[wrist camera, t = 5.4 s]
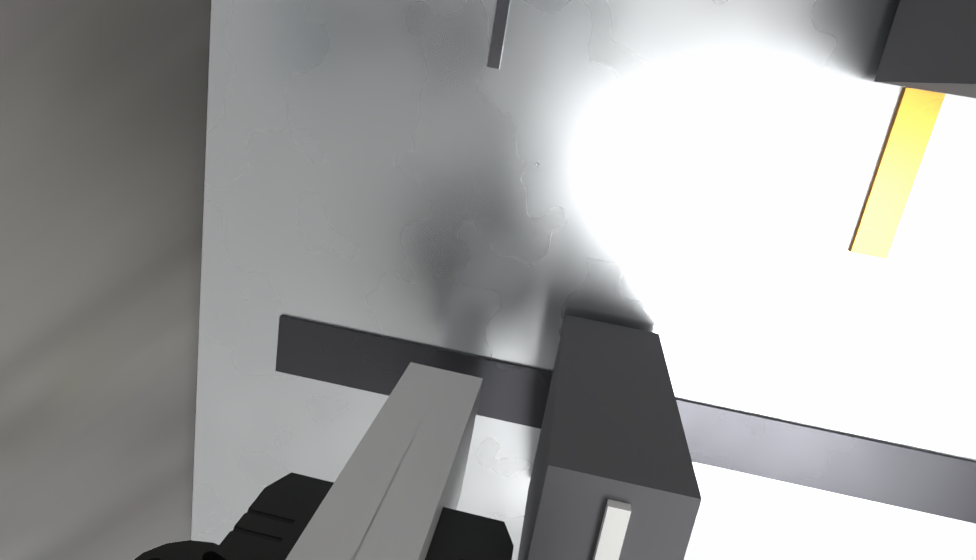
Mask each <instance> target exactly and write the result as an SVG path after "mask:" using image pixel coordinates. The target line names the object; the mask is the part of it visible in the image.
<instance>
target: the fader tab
mask: <svg viewBox="0 0 976 560" xmlns="http://www.w3.org/2000/svg"><path fill="white" fill-rule="evenodd" d="M701 500H702V498H701V494H700V490H699V487H698V483H697V479H696V475H695V471H694V467H693V463H692V460H691V456H690V452H689V448H688V444H687V440H686V436H685V433H684V429H683V425H682V421H681V417H680V413H679V409H678V406H677V402H676V398H675V394H674V390H673V386H672V382H671V379H670V375H669V371H668V367H667V363H666V359H665V355H664V351H663V348H662V344H661V340H660V336H659V333H654V332H649V331H644V330H639V329H634V328H630V327H625V326H620V325H615V324H610V323H605V322H600V321H595V320H590V319H585V318H580V317H575V316H570V315H565V317H564V322H563V327H562V331H561V336H560V341H559V346H558V351H557V355H556V360H555V365H554V370H553V374H552V379H551V384H550V389H549V393H548V398H547V403H546V408H545V412H544V417H543V422H542V427H541V431H540V436H539V441H538V446H537V450H536V455H535V460H534V465H533V469H532V474H531V479H530V484H529V488H528V495H527V501H526V508H525V514H524V521H523V527H522V534H521V540H520V547H519V553H518V560H684V557H685V554H686V550H687V547H688V544H689V540H690V537H691V534H692V530H693V527H694V524H695V520H696V517H697V514H698V510H699V507H700V504H701Z"/></svg>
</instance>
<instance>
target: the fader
mask: <svg viewBox="0 0 976 560" xmlns="http://www.w3.org/2000/svg"><path fill="white" fill-rule="evenodd" d="M874 82H880V83H886V84H892V85H898V86H904V87H910V88H916V89H922V90H928V91H934V92H940V93H946V94H952V95H958V96H964V97H970V98H976V0H900V2H899V5H898V8H897V11H896V14H895V18H894V21H893V24H892V27H891V30H890V33H889V36H888V39H887V43H886V46H885V49H884V52H883V55H882V58H881V61H880V64H879V67H878V71H877V74H876V77H875V80H874Z"/></svg>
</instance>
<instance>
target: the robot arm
mask: <svg viewBox="0 0 976 560" xmlns="http://www.w3.org/2000/svg"><path fill="white" fill-rule="evenodd" d="M482 381H483V378H479V377H474V376H470V375H465V374H461V373H457V372H452V371H448V370H443V369H439V368H434V367H430V366H425V365H421V364H417V363H412V362H410V364H409V366H408V367H407V369H406V370H405V372H404V374H403V375H402V377H401V378H400V380H399V381H398V383H397V385H396V386H395V388H394V389H393V391H392V392H391V394H390V396H389V397H388V399H387V400H386V402H385V403H384V405H383V407H382V408H381V410H380V411H379V413H378V414H377V416H376V418H375V419H374V421H373V422H372V424H371V426H370V427H369V429H368V430H367V432H366V433H365V435H364V437H363V438H362V440H361V441H360V443H359V444H358V446H357V448H356V449H355V451H354V452H353V454H352V455H351V457H350V459H349V460H348V462H347V463H346V465H345V466H344V468H343V470H342V471H341V473H340V474H339V476H338V477H337V479H336V481H335V482H329V481H325V480H321V479H317V478H313V477H309V476H305V475H301V474H297V473H292V472H291V473H290V474H288V475H286V476H284V477H282V478H281V479H279V480H277V481H275V482H274V483H272V484H270V485H268V486H267V487H265V488H264V489H263V491H262V492H261V493H260V494H259V496H258V497H257V498H256V499H255V501H254V502H253V503H252V504H251V506H250V507H249V508H248V511H247V513H244V514H243V516H242V517H241V518H240V519H239V521H238V522H237V523H236V525H235V526H234V529H233V531H230V532H229V533H228V535H227V536H226V537H225V538H224V540H223V541H222V542H221V543H220V545H218V544H215V543H212V542H202V541H193V540H189V541H182V542H175V543H168V544H164V545H162V546H159V547H157V548H154V549H152V550H149V551H147V552H144V553H142V554H141V555H140V556H139V557H137V558H136V559H135V560H512V554H513V548H514V545H513V543H512V540H511V537H510V535H509V532H508V530H507V527H506V525H505V522H504V521H500V520H495V519H491V518H487V517H483V516H479V515H475V514H471V513H467V512H462V511H458V510H456V509H457V505H458V502H459V499H460V496H461V491H462V486H463V481H464V475H465V470H466V465H467V460H468V454H469V449H470V444H471V439H472V434H473V428H474V423H475V418H476V413H477V407H478V402H479V397H480V392H481V386H482Z"/></svg>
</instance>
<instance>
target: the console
mask: <svg viewBox="0 0 976 560" xmlns="http://www.w3.org/2000/svg"><path fill="white" fill-rule="evenodd" d="M899 2H900V0H211V25H210V52H209V79H208V106H207V132H206V159H205V186H204V213H203V239H202V266H201V293H200V320H199V346H198V373H197V400H196V427H195V453H194V480H193V507H192V533H191V540H193V541H202V542H212V543H215V544H218V545H220V543H221V542H222V541H223V540H224V538H225V537H226V536H227V535H228V533H229V532H230V531H233V529H234V526H235V525H236V523H237V522H238V521H239V519H240V518H241V517H242V516H243V514H244V513H247V511H248V508H249V507H250V506H251V504H252V503H253V502H254V501H255V499H256V498H257V497H258V496H259V494H260V493H261V492H262V491H263V489H264V488H265V487H267V486H268V485H270V484H272V483H274V482H275V481H277V480H279V479H281V478H282V477H284V476H286V475H288V474H290V473H291V472H292V473H297V474H301V475H305V476H309V477H313V478H317V479H321V480H325V481H329V482H335V481H336V479H337V477H338V476H339V474H340V473H341V471H342V470H343V468H344V466H345V465H346V463H347V462H348V460H349V459H350V457H351V455H352V454H353V452H354V451H355V449H356V448H357V446H358V444H359V443H360V441H361V440H362V438H363V437H364V435H365V433H366V432H367V430H368V429H369V427H370V426H371V424H372V422H373V421H374V419H375V418H376V416H377V414H378V413H379V411H380V410H381V408H382V407H383V405H384V403H385V402H386V400H387V399H388V397H389V396H390V394H391V392H392V391H393V389H394V388H395V386H396V385H397V383H398V381H399V380H400V378H401V377H402V375H403V374H404V372H405V370H406V369H407V367H408V366H409V364H410V362H412V363H417V364H421V365H425V366H430V367H434V368H439V369H443V370H448V371H452V372H457V373H461V374H465V375H470V376H474V377H479V378H483V381H482V386H481V392H480V397H479V402H478V407H477V413H476V418H475V423H474V428H473V434H472V439H471V444H470V449H469V454H468V460H467V465H466V470H465V475H464V481H463V486H462V491H461V496H460V499H459V502H458V505H457V509H456V510H458V511H462V512H467V513H471V514H475V515H479V516H483V517H487V518H491V519H495V520H500V521H504V522H505V525H506V527H507V530H508V532H509V535H510V537H511V540H512V543H513V545H514V548H513V554H512V560H518V553H519V547H520V540H521V534H522V527H523V521H524V514H525V508H526V501H527V495H528V488H529V484H530V479H531V474H532V469H533V465H534V460H535V455H536V450H537V446H538V441H539V436H540V431H541V427H542V422H543V417H544V412H545V408H546V403H547V398H548V393H549V389H550V384H551V379H552V374H553V370H554V365H555V360H556V355H557V351H558V346H559V341H560V336H561V331H562V327H563V322H564V317H565V315H570V316H575V317H580V318H585V319H590V320H595V321H600V322H605V323H610V324H615V325H620V326H625V327H630V328H634V329H639V330H644V331H649V332H654V333H659V336H660V340H661V344H662V348H663V351H664V355H665V359H666V363H667V367H668V371H669V375H670V379H671V382H672V386H673V390H674V394H675V398H676V402H677V406H678V409H679V413H680V417H681V421H682V425H683V429H684V433H685V436H686V440H687V444H688V448H689V452H690V456H691V460H692V463H693V467H694V471H695V475H696V479H697V483H698V487H699V490H700V494H701V498H702V500H701V504H700V507H699V510H698V514H697V517H696V520H695V524H694V527H693V530H692V534H691V537H690V540H689V544H688V547H687V550H686V554H685V557H684V560H976V98H970V97H964V96H958V95H952V94H946V93H940V92H934V91H928V90H922V89H916V88H910V87H904V86H898V85H892V84H886V83H880V82H874V80H875V77H876V74H877V71H878V67H879V64H880V61H881V58H882V55H883V52H884V49H885V46H886V43H887V39H888V36H889V33H890V30H891V27H892V24H893V21H894V18H895V14H896V11H897V8H898V5H899Z"/></svg>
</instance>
